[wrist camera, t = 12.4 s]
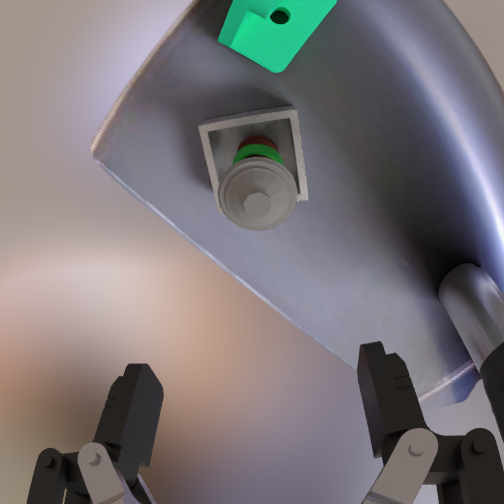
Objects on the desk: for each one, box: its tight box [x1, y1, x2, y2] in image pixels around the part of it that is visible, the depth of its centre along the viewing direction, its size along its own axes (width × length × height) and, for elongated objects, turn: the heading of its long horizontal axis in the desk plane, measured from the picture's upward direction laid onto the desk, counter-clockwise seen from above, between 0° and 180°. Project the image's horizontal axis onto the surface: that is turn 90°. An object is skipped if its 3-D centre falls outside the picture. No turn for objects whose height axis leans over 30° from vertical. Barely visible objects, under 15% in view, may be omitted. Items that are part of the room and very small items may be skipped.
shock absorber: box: [217, 135, 298, 231], centre depth 30 cm, size 6×6×15 cm
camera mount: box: [218, 0, 337, 73], centre depth 23 cm, size 12×8×10 cm, turn 147°
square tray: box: [198, 105, 308, 213], centre depth 34 cm, size 10×10×4 cm
